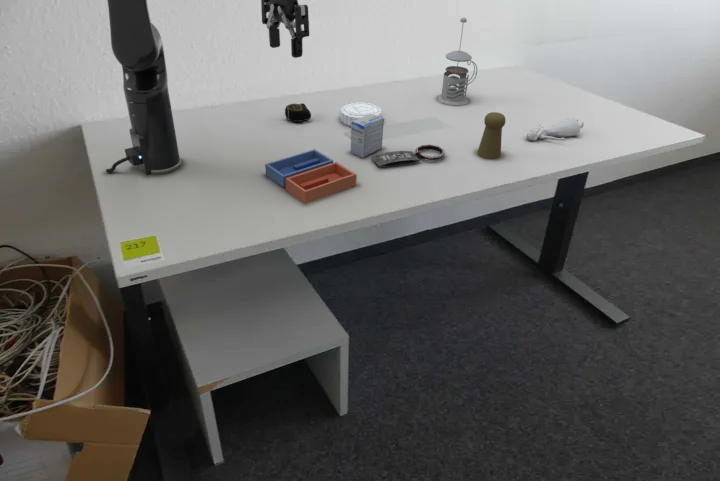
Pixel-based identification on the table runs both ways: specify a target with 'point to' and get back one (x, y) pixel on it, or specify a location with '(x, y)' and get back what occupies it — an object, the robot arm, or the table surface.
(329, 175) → the terracotta spoon
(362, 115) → the mooncake
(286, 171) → the blue spoon
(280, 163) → the blue tote
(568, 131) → the woman figurine
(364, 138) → the medicine box
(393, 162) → the keychain
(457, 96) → the french press
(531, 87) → the table surface
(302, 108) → the tape measure
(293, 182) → the terracotta tote
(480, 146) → the olive game pawn
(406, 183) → the table surface
